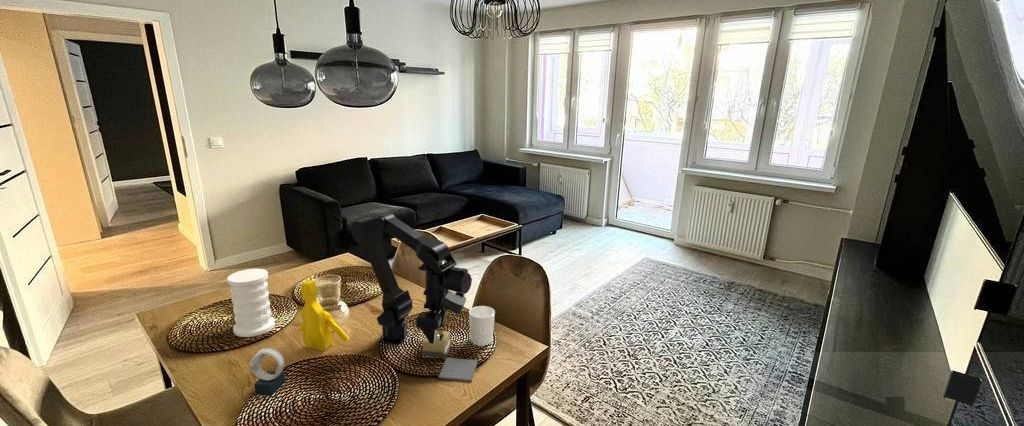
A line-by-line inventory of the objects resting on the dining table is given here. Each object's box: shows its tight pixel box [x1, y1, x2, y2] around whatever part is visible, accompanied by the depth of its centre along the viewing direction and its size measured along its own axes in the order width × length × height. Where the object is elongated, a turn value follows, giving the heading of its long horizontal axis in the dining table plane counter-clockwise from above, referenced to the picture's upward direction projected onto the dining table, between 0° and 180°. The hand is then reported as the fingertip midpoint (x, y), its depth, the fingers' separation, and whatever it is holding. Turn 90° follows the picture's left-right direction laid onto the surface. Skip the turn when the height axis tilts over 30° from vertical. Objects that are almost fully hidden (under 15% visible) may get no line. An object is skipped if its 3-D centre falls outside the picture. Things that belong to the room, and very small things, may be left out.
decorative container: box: [226, 268, 276, 338], centre depth 137 cm, size 12×12×18 cm
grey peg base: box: [421, 333, 452, 359], centre depth 129 cm, size 7×7×6 cm
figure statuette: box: [298, 278, 350, 352], centre depth 127 cm, size 18×8×22 cm, turn 73°
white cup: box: [468, 305, 496, 347], centre depth 135 cm, size 8×8×10 cm
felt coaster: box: [438, 357, 479, 383], centre depth 121 cm, size 9×9×1 cm
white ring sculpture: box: [248, 347, 286, 397], centre depth 110 cm, size 6×8×11 cm
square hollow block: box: [422, 330, 451, 352], centre depth 129 cm, size 6×6×3 cm
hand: (436, 334), depth 128 cm, fingers open, 9 cm apart
